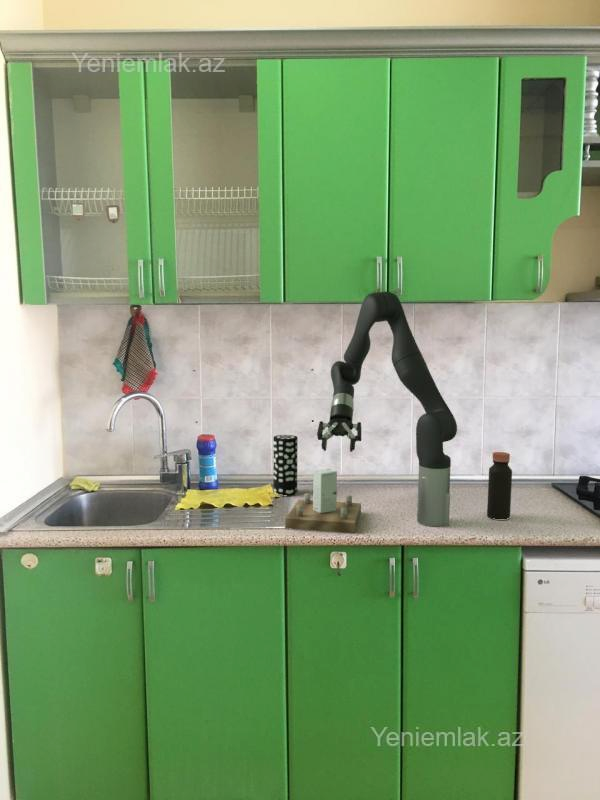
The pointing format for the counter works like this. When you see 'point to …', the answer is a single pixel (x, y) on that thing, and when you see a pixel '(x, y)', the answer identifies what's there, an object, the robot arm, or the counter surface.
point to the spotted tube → (285, 465)
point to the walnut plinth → (324, 516)
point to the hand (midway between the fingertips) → (337, 449)
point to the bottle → (499, 487)
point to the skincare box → (324, 491)
